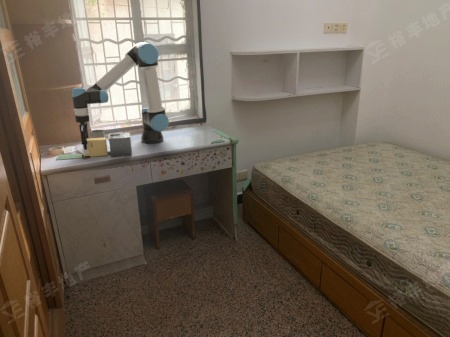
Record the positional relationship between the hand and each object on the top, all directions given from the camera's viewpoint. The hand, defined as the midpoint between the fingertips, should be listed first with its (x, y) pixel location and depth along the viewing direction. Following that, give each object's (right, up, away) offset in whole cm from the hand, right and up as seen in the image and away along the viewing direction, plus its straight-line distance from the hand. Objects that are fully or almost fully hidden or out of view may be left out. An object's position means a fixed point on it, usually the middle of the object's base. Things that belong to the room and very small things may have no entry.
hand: (87, 152), depth 215 cm
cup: (0, +5, +20) cm, 21 cm away
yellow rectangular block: (+5, -1, +2) cm, 5 cm away
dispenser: (+19, 0, +5) cm, 20 cm away
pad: (-10, -2, -2) cm, 10 cm away
